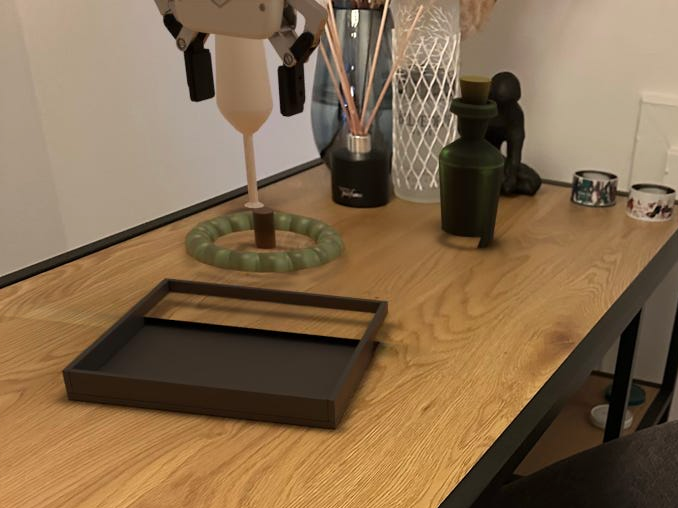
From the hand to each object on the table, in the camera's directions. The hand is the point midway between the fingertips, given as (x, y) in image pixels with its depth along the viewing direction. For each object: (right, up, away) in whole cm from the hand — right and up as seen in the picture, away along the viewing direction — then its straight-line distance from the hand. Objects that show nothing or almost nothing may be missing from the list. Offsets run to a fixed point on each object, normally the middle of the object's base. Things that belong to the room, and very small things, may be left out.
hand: (247, 106), depth 88 cm
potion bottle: (+20, +1, +32) cm, 38 cm away
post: (-3, -5, +22) cm, 23 cm away
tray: (0, -24, 0) cm, 24 cm away
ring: (-3, -4, +21) cm, 22 cm away
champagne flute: (-7, +5, +34) cm, 35 cm away
